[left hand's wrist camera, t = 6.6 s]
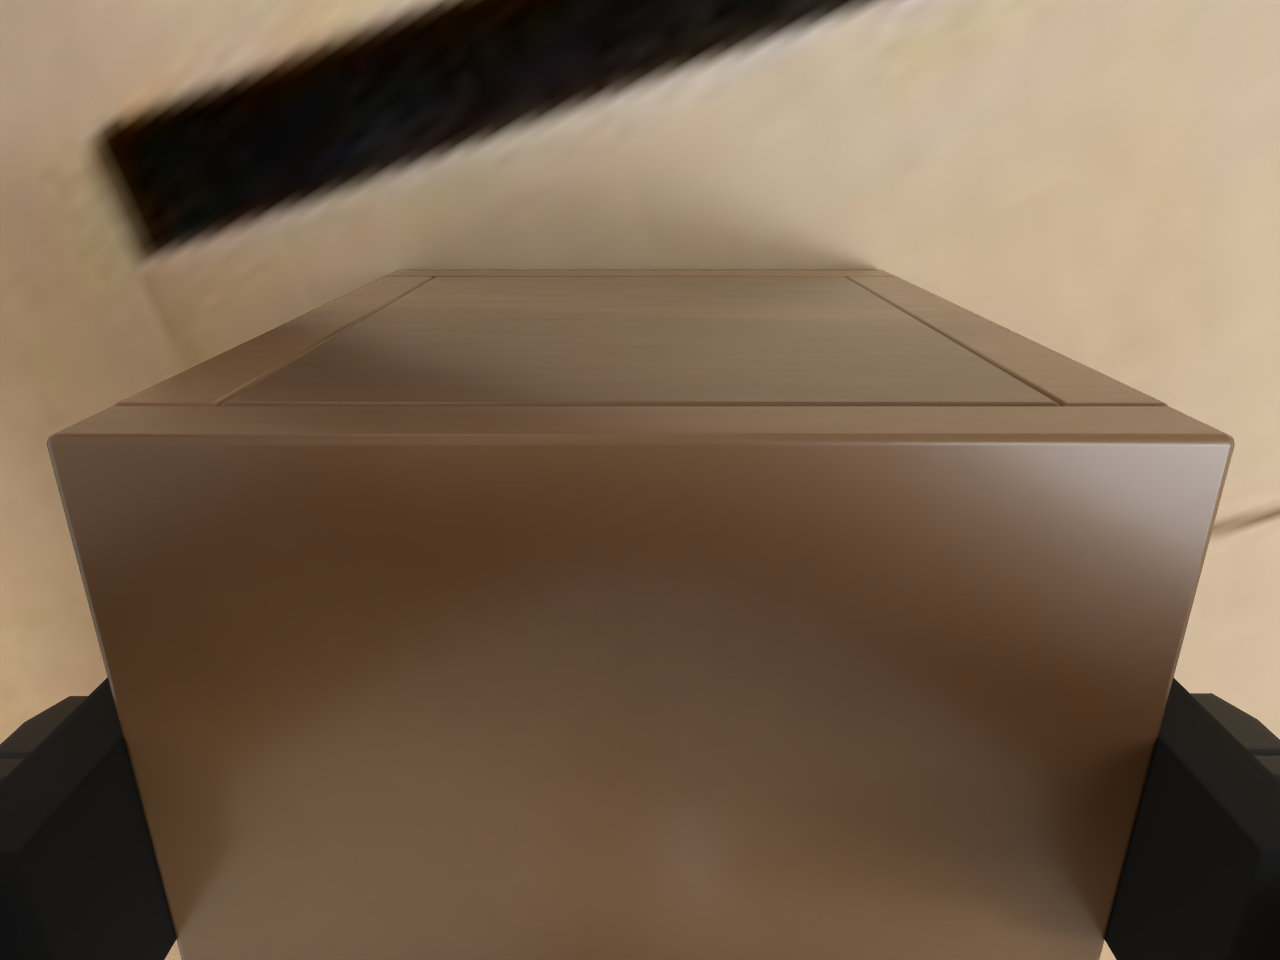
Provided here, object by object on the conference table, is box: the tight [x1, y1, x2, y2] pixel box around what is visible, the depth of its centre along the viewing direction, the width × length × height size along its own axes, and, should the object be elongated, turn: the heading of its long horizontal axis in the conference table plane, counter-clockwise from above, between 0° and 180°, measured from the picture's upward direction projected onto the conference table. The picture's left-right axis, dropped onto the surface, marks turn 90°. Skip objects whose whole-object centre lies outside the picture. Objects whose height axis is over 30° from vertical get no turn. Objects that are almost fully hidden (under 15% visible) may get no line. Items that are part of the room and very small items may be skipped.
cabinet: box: [47, 270, 1234, 960], centre depth 16 cm, size 17×10×11 cm, turn 0°
